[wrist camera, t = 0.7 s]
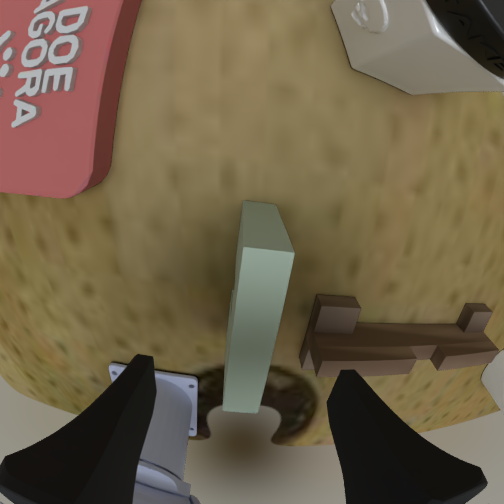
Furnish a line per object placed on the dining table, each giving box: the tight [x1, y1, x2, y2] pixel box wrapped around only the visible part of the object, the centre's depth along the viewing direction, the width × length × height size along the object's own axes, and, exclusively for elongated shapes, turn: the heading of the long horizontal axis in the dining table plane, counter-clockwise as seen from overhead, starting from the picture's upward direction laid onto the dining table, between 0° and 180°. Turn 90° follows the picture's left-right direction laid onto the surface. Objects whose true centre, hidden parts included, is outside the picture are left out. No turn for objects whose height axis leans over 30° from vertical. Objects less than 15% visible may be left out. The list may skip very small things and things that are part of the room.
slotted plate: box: [223, 200, 295, 413], centre depth 17 cm, size 10×2×8 cm, turn 172°
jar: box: [331, 0, 504, 95], centre depth 9 cm, size 9×8×12 cm
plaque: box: [0, 0, 142, 199], centre depth 13 cm, size 18×4×15 cm
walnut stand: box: [299, 295, 499, 377], centre depth 21 cm, size 6×18×4 cm, turn 82°
